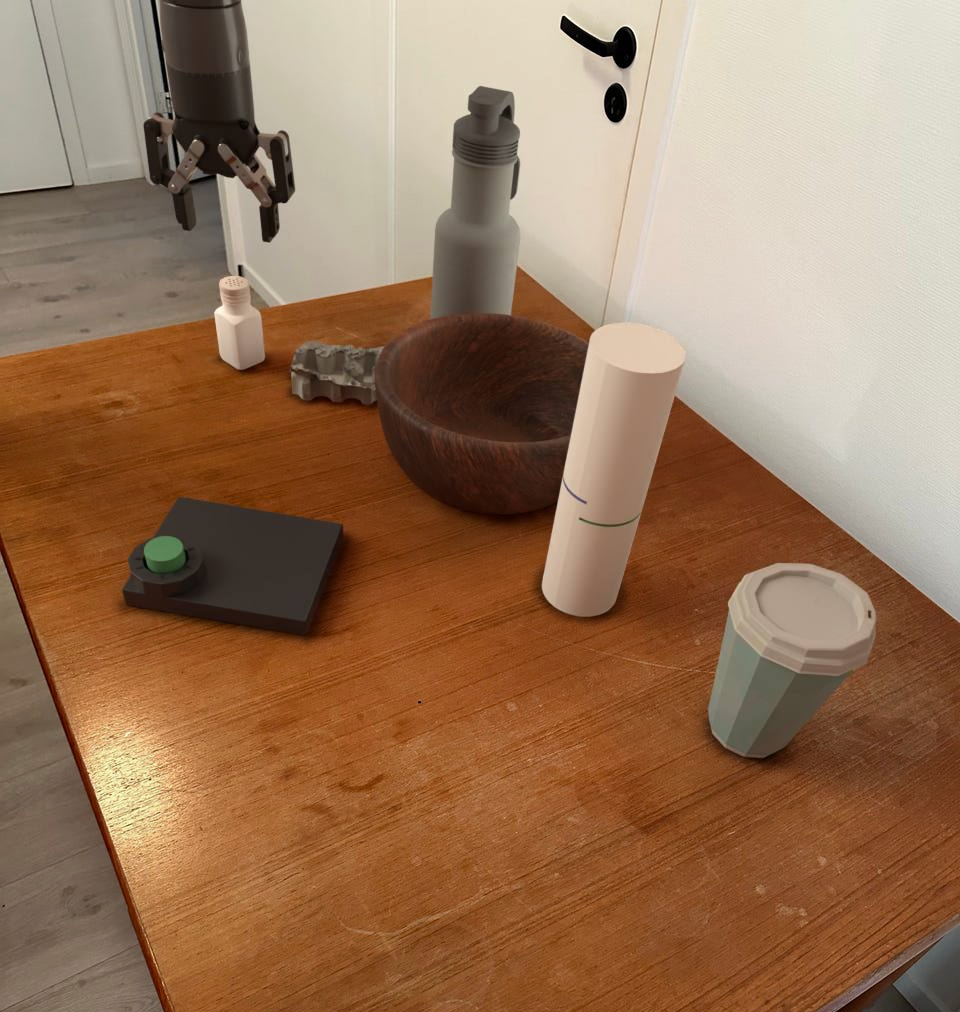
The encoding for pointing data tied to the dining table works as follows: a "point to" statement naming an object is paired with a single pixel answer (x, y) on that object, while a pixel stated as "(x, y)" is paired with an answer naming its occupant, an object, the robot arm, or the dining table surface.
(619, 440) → the cylindrical container
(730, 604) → the disposable coffee cup
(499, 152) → the water bottle
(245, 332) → the pepper shaker
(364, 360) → the egg carton
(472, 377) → the wooden bowl
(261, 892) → the dining table surface
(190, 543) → the dark grey flat block
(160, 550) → the button
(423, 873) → the dining table surface
